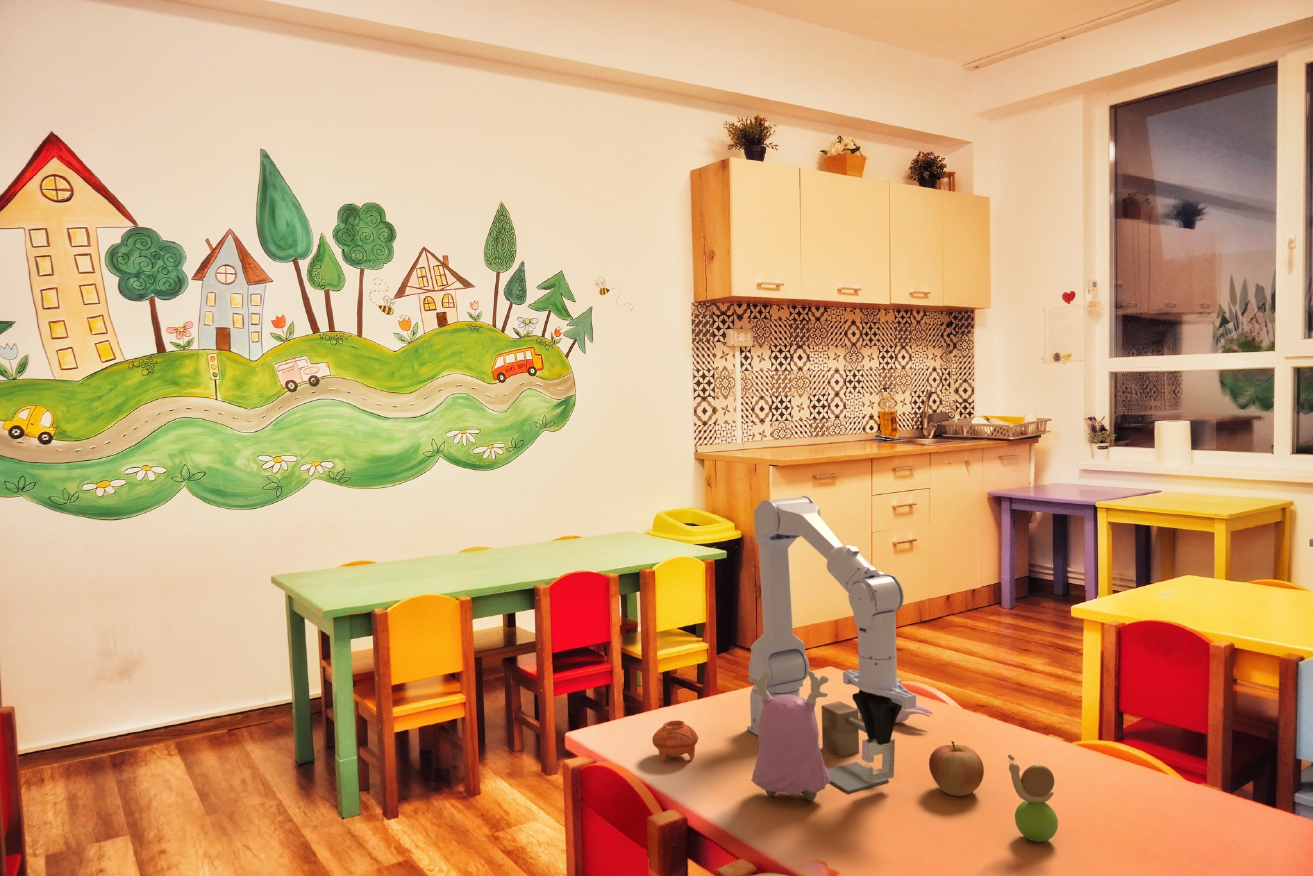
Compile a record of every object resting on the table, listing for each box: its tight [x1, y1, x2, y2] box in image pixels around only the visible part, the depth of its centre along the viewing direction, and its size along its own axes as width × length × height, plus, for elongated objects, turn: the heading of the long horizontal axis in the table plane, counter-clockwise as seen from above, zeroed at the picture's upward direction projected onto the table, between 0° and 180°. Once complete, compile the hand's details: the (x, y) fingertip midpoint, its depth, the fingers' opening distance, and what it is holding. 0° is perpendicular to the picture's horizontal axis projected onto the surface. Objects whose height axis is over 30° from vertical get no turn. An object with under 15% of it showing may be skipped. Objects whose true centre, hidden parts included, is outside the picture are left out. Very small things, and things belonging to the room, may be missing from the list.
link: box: [861, 737, 896, 782], centre depth 138 cm, size 2×5×6 cm, turn 116°
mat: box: [827, 761, 890, 794], centre depth 143 cm, size 8×8×1 cm
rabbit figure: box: [856, 704, 934, 724], centre depth 167 cm, size 6×6×15 cm
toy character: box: [747, 669, 831, 802], centre depth 137 cm, size 12×10×20 cm
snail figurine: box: [1007, 753, 1059, 843], centre depth 122 cm, size 5×6×12 cm
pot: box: [652, 720, 699, 763], centre depth 154 cm, size 8×8×7 cm
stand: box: [821, 701, 893, 758], centre depth 150 cm, size 16×4×8 cm, turn 26°
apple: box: [928, 740, 985, 797], centre depth 137 cm, size 8×8×8 cm
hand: (879, 741), depth 138 cm, fingers closed on link, 1 cm apart
